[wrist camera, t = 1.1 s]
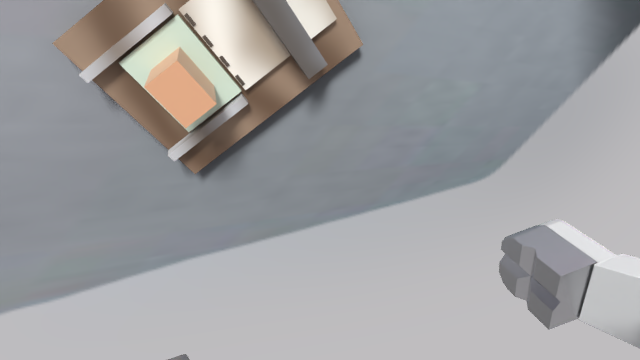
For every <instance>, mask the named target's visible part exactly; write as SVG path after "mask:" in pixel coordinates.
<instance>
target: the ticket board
mask: <svg viewBox="0 0 640 360" xmlns="http://www.w3.org/2000/svg"><path fill="white" fill-rule="evenodd" d="M177 14H178V15H179V16H180V17H181V18H182V19H183V21H184V22H185V23H186V24H187V25H188V27H189V28H190V29H191V30H192V31H193V33H194V34H195V35H196V36H197V37H198V39H199V40H200V41H201V42H202V43H203V44H204V46H205V47H206V48H207V49H208V50H209V52H210V53H211V54H212V55H213V56H214V58H215V59H216V60H217V61H218V62H219V64H220V65H221V66H222V67H223V68H224V70H225V71H226V72H227V73H228V74H229V75H230V77H231V78H232V79H233V80H234V81H235V83H236V84H237V85H238V86H239V87H240V89H241V92H240V93H239V94H237V95H236V96H235V97H233V98H232V99H231V100H230V101H228V102H227V103H226V104H225V105H223V106H222V107H221V108H219V109H218V110H217V111H216V112H214V113H213V114H212V115H210V116H209V117H208V118H207V119H205V120H204V121H203V122H202V123H200V124H199V125H198V126H196V127H195V128H194V129H193V130H191V131H190V132H188V131H187V130H186V129H185V128H184V127H183V126H182V125H181V124H180V123H179V122H178V121H177V120H176V119H175V118H174V117H173V116H172V115H171V114H170V113H169V112H168V111H167V110H166V109H164V108H163V107H162V106H161V105H160V104H159V103H158V102H157V101H156V100H155V99H154V98H153V97H152V96H151V95H150V94H149V93H148V92H147V91H146V90H145V89H144V88H143V87H142V86H141V85H140V84H139V83H138V82H137V81H136V80H135V79H134V78H133V77H132V76H131V75H130V74H129V73H128V72H127V71H126V70H125V69H124V68H123V67H122V66H121V65H120V64H119V62H120V61H121V60H122V59H123V58H125V57H126V56H127V55H128V54H130V53H131V52H132V51H133V50H134V49H136V48H137V47H138V46H139V45H141V44H142V43H143V42H144V41H145V40H147V39H148V38H149V37H150V36H151V35H153V34H154V33H155V32H156V31H158V30H159V29H160V28H161V27H162V26H164V25H165V24H166V23H167V22H169V21H170V20H171V19H172V18H173V17H175V16H176V15H177ZM52 44H54V45H55V46H56V47H57V48H58V49H59V50H60V51H61V52H62V53H63V54H64V55H66V56H67V57H68V58H69V59H70V60H71V61H72V62H73V63H74V64H75V65H76V66H78V67H79V68H80V69H81V70H82V72H81V73H80V74H79V76H80V77H82V78H83V79H84V80H85V81H86V82H87V83H89V82H90V81H91V80H93V81H94V82H95V83H96V84H97V85H98V86H99V87H101V88H102V89H103V90H104V91H105V92H106V93H107V94H108V95H109V96H110V97H111V98H113V99H114V100H115V101H116V102H117V103H118V104H119V105H120V106H121V107H122V108H123V109H125V110H126V111H127V112H128V113H129V114H130V115H131V116H132V117H133V118H134V119H136V120H137V121H138V122H139V123H140V124H141V125H142V126H143V127H144V128H145V129H146V130H148V131H149V132H150V133H151V134H152V135H153V136H154V137H155V138H156V139H157V140H158V141H160V142H161V143H162V144H163V145H164V146H165V147H166V148H167V149H168V156H169V157H170V158H171V159H172V160H173V161H176V160H177V159H179V160H180V161H181V162H182V163H184V164H185V165H186V166H187V167H188V168H189V169H190V170H191V171H192V172H193V173H195V174H196V173H197V172H198V171H200V170H201V169H202V168H204V167H205V166H206V165H208V164H209V163H210V162H211V161H213V160H214V159H215V158H217V157H218V156H219V155H220V154H222V153H223V152H224V151H226V150H227V149H228V148H230V147H231V146H232V145H233V144H235V143H236V142H237V141H239V140H240V139H241V138H243V137H244V136H245V135H246V134H248V133H249V132H250V131H252V130H253V129H254V128H256V127H257V126H258V125H259V124H261V123H262V122H263V121H265V120H266V119H267V118H268V117H270V116H271V115H272V114H274V113H275V112H276V111H278V110H279V109H280V108H281V107H283V106H284V105H285V104H287V103H288V102H289V101H291V100H292V99H293V98H294V97H296V96H297V95H298V94H300V93H301V92H302V91H304V90H305V89H306V88H307V87H309V86H310V85H311V84H313V83H314V82H315V81H316V80H318V79H319V78H320V77H322V76H323V75H324V74H326V73H327V72H328V71H329V70H331V69H332V68H333V67H335V66H336V65H337V64H339V63H340V62H341V61H342V60H344V59H345V58H346V57H348V56H349V55H350V54H351V53H353V52H354V51H355V50H357V49H358V48H359V47H361V46H362V45H363V43H362V41H361V40H360V38H359V36H358V34H357V33H356V31H355V29H354V27H353V26H352V24H351V22H350V20H349V19H348V17H347V15H346V13H345V12H344V10H343V8H342V6H341V4H340V3H339V1H338V0H103V1H102V2H101V3H100V4H99V5H97V6H96V7H95V8H94V9H93V10H91V11H90V12H89V13H88V14H87V15H86V16H84V17H83V18H82V19H81V20H80V21H78V22H77V23H76V24H75V25H74V26H72V27H71V28H70V29H69V30H68V31H67V32H65V33H64V34H63V35H62V36H61V37H59V38H58V39H57V40H56V41H55V42H53V43H52Z"/></svg>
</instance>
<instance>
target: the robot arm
mask: <svg viewBox="0 0 640 360" xmlns="http://www.w3.org/2000/svg"><path fill="white" fill-rule="evenodd" d="M501 250H502V251H503V252H504V253H505V255H504V256H503V258H502V260H501V261H500V265H499V273H500V275H501V278H502V281H503V283H504V284H505V286H506V287H507V289H508V290H509V291H510V292H511V293H512V294H513V295H514V296H515V297H518V298H521V299H524V300H526V301H527V306H528V310H529V311H530V312H531V313H532V314H533V315H534V316H535V317H537V319H538V320H539V321H540V322H542V323H543V324H544V325H545V326H546V327H547V328H548V329H552V328H554V327H557V326H559V325H562V324H565V323H567V322H570V321H572V320H575V319H578V318H579V320H580V321H582V322H584V323H586V324H588V325H590V326H593V327H595V328H597V329H599V330H601V331H603V332H605V333H608V334H610V335H612V336H614V337H616V338H618V339H620V340H623V341H625V342H627V343H629V344H631V345H633V346H636V347H638V348H640V258H638V257H634V256H630V255H626V254H619V255H616V254H614V253H612V252H611V251H610V250H608V249H607V248H605V247H603V246H602V245H600V244H599V243H597V242H596V241H594V240H593V239H591V238H590V237H588V236H587V235H585V234H584V233H582V232H580V231H579V230H577V229H576V228H574V227H573V226H571V225H570V224H568V223H567V222H565V221H563V220H560V219H554V220H551V221H548V222H545V223H542V224H540V225H538V226H534V227H531V228H528V229H526V230H523V231H520V232H518V233H515V234H512V235H510V236H507V237H505V238H504V240H503V241H502V246H501ZM168 360H189V358H188V357H187V355H186V354H183V355H180V356H177V357H175V358H171V359H168Z"/></svg>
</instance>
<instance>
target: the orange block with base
mask: <svg viewBox="0 0 640 360" xmlns="http://www.w3.org/2000/svg"><path fill="white" fill-rule="evenodd" d="M119 64H120V65H121V66H122V67H123V68H124V69H125V70H126V71H127V72H128V73H129V74H130V75H131V76H132V77H133V78H134V79H135V80H136V81H137V82H138V83H139V84H140V85H141V86H142V87H143V88H144V89H145V90H146V91H147V92H148V93H149V94H150V95H151V96H152V97H153V98H154V99H155V100H156V101H157V102H158V103H159V104H160V105H161V106H162V107H163V108H164V109H166V110H167V111H168V112H169V113H170V114H171V115H172V116H173V117H174V118H175V119H176V120H177V121H178V122H179V123H180V124H181V125H182V126H183V127H184V128H185V129H186V130H187V131H188V132H190V131H191V130H193V129H194V128H195V127H196V126H198V125H199V124H200V123H202V122H203V121H204V120H205V119H207V118H208V117H209V116H210V115H212V114H213V113H214V112H216V111H217V110H218V109H219V108H221V107H222V106H223V105H225V104H226V103H227V102H228V101H230V100H231V99H232V98H233V97H235V96H236V95H237V94H239V93H240V92H241V89H240V87H239V86H238V85H237V84H236V83H235V81H234V80H233V79H232V78H231V77H230V75H229V74H228V73H227V72H226V71H225V70H224V68H223V67H222V66H221V65H220V64H219V62H218V61H217V60H216V59H215V58H214V56H213V55H212V54H211V53H210V52H209V50H208V49H207V48H206V47H205V46H204V44H203V43H202V42H201V41H200V40H199V39H198V37H197V36H196V35H195V34H194V33H193V31H192V30H191V29H190V28H189V27H188V25H187V24H186V23H185V22H184V21H183V19H182V18H181V17H180V16H179V15H178V14H177V15H176V16H175V17H173V18H172V19H171V20H170V21H169V22H167V23H166V24H165V25H164V26H162V27H161V28H160V29H159V30H158V31H156V32H155V33H154V34H153V35H151V36H150V37H149V38H148V39H147V40H145V41H144V42H143V43H142V44H141V45H139V46H138V47H137V48H136V49H134V50H133V51H132V52H131V53H130V54H128V55H127V56H126V57H125V58H123V59H122V60H121V61H120V62H119Z"/></svg>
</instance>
